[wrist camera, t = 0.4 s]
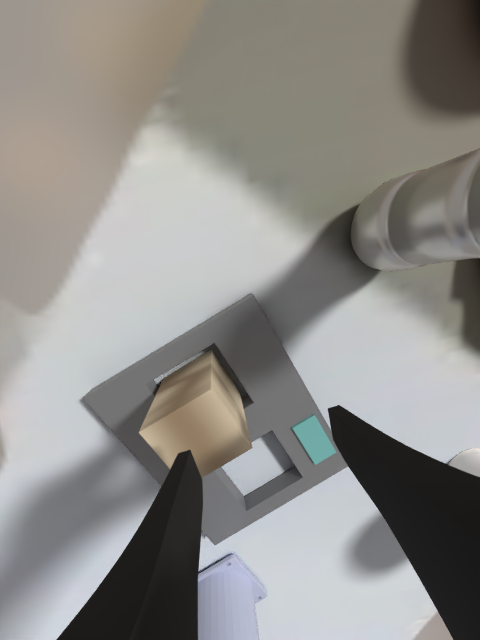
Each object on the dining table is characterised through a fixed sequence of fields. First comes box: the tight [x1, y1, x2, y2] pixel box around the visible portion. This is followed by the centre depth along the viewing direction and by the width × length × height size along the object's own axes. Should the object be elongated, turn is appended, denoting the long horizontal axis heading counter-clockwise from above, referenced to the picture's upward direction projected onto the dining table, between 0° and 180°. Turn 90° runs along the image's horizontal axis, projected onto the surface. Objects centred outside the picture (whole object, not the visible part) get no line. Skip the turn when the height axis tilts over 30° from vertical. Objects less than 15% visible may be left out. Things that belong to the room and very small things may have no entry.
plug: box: [139, 349, 252, 478], centre depth 17 cm, size 5×5×7 cm
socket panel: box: [83, 293, 348, 545], centre depth 21 cm, size 16×20×2 cm
